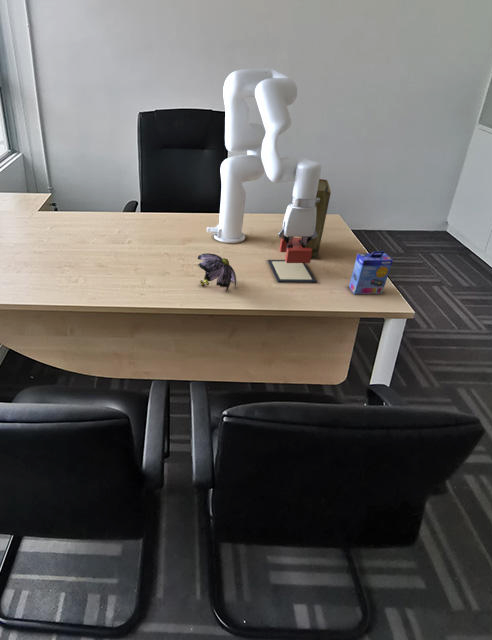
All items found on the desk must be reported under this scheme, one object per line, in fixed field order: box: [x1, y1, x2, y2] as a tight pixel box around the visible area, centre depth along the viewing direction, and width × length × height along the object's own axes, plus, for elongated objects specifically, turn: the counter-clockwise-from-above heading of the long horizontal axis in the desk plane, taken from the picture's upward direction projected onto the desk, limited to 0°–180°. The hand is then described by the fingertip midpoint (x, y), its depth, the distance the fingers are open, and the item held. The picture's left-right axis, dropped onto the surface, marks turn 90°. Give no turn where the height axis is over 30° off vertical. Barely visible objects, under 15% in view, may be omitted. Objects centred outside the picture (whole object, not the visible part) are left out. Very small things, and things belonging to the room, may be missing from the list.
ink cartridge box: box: [348, 250, 394, 295], centre depth 157 cm, size 10×6×14 cm, turn 95°
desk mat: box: [267, 259, 317, 284], centre depth 173 cm, size 13×18×1 cm
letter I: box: [278, 237, 312, 264], centre depth 168 cm, size 8×12×4 cm, turn 0°
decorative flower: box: [197, 252, 237, 292], centre depth 160 cm, size 14×12×15 cm
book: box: [305, 178, 332, 259], centre depth 182 cm, size 16×6×25 cm, turn 168°
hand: (294, 254), depth 169 cm, fingers closed on letter I, 3 cm apart
